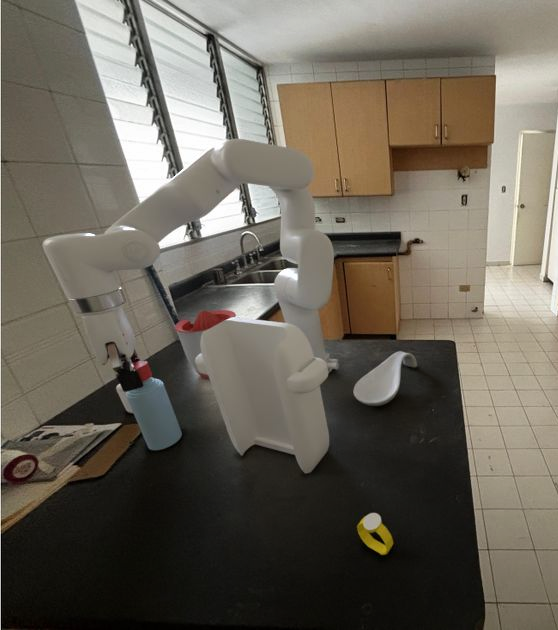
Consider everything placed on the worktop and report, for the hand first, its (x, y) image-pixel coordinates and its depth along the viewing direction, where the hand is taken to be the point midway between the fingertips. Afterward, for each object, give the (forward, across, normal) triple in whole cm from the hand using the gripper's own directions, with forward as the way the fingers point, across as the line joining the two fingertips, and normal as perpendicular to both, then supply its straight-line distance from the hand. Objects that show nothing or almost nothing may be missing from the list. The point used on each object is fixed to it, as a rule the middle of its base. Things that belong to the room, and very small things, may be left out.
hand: (135, 382), depth 70 cm
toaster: (+16, +19, +23) cm, 34 cm away
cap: (0, 0, +1) cm, 1 cm away
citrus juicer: (+16, -28, +14) cm, 36 cm away
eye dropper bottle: (+16, -18, -6) cm, 25 cm away
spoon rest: (+16, +13, +52) cm, 56 cm away
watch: (+16, +50, +29) cm, 60 cm away
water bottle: (+16, 0, +1) cm, 16 cm away
